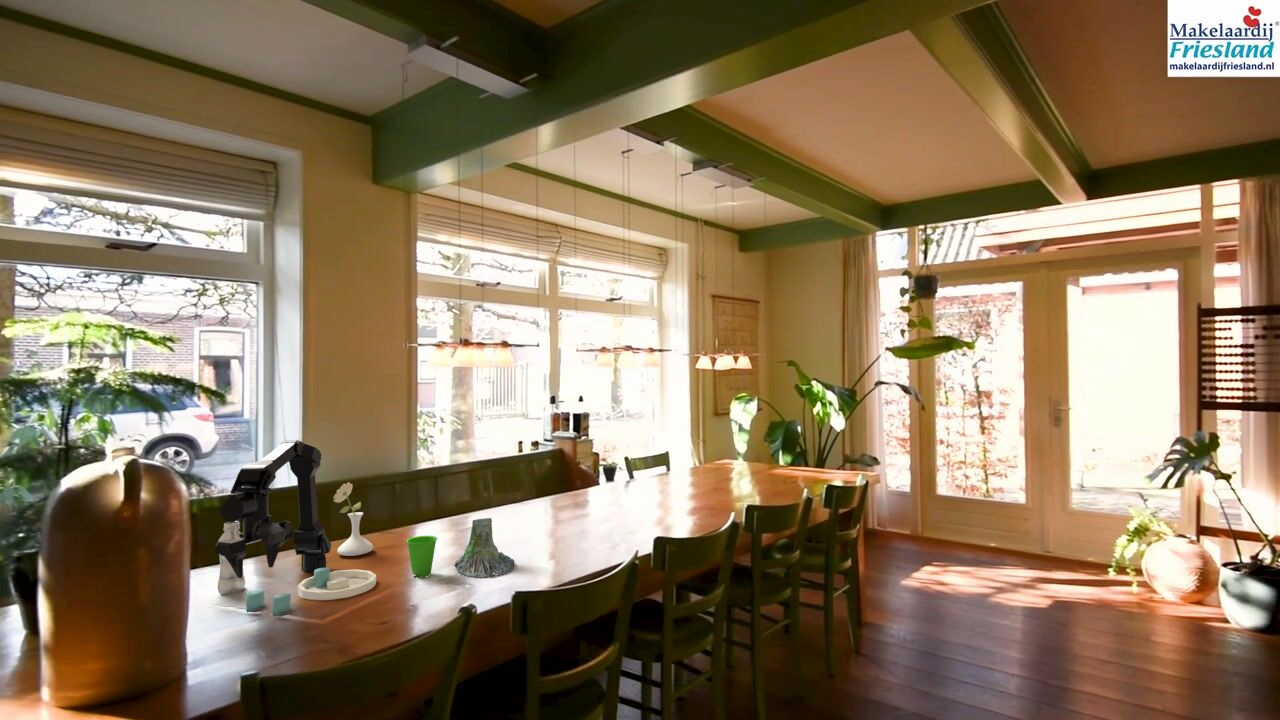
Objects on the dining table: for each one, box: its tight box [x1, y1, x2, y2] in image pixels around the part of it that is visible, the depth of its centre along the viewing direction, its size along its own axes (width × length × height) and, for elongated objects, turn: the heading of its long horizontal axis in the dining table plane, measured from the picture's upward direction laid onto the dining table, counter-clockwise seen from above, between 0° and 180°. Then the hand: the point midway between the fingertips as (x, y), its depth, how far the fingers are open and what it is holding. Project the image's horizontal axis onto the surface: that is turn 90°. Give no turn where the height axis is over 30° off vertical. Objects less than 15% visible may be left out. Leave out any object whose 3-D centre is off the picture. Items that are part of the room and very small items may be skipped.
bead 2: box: [272, 592, 292, 617], centre depth 165 cm, size 4×4×4 cm
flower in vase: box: [332, 482, 374, 557], centre depth 218 cm, size 13×11×25 cm
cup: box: [405, 535, 438, 579], centre depth 195 cm, size 9×9×11 cm
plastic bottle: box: [217, 520, 246, 596], centre depth 179 cm, size 6×7×20 cm
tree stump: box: [453, 517, 516, 579], centre depth 203 cm, size 18×20×18 cm
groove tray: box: [297, 568, 377, 601], centre depth 181 cm, size 20×20×3 cm
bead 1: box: [245, 589, 265, 613], centre depth 167 cm, size 4×4×4 cm
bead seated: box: [313, 567, 331, 588], centre depth 183 cm, size 4×4×4 cm
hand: (255, 572), depth 168 cm, fingers open, 9 cm apart
